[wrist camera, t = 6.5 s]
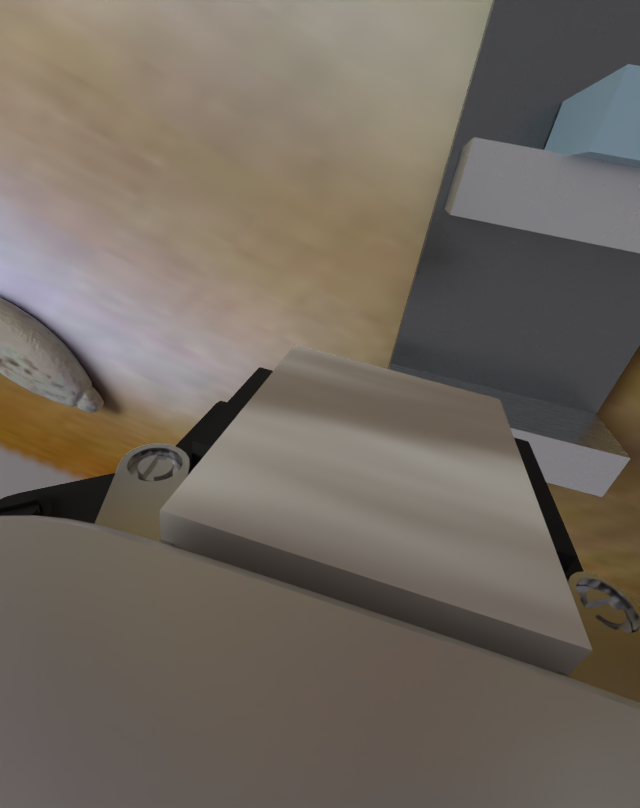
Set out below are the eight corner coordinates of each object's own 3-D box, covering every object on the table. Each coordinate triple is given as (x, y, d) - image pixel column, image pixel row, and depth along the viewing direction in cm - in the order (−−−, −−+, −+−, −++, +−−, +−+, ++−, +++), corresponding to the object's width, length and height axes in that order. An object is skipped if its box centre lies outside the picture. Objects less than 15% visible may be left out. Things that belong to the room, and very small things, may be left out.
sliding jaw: (480, 87, 20) (507, 44, 14) (762, 135, 18) (929, 111, 12) (444, 209, 22) (453, 217, 16) (686, 257, 21) (791, 286, 15)
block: (295, 344, 12) (159, 510, 6) (499, 399, 11) (592, 650, 5) (277, 450, 14) (164, 655, 8) (449, 501, 13) (473, 768, 7)
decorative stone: (100, 419, 39) (74, 438, 36) (-43, 312, 36) (-83, 323, 33) (123, 379, 36) (97, 396, 33) (-30, 260, 33) (-73, 268, 30)
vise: (523, -104, 18) (571, -239, 12) (871, -63, 16) (1109, -193, 11) (373, 417, 32) (364, 466, 26) (551, 463, 30) (581, 525, 25)
